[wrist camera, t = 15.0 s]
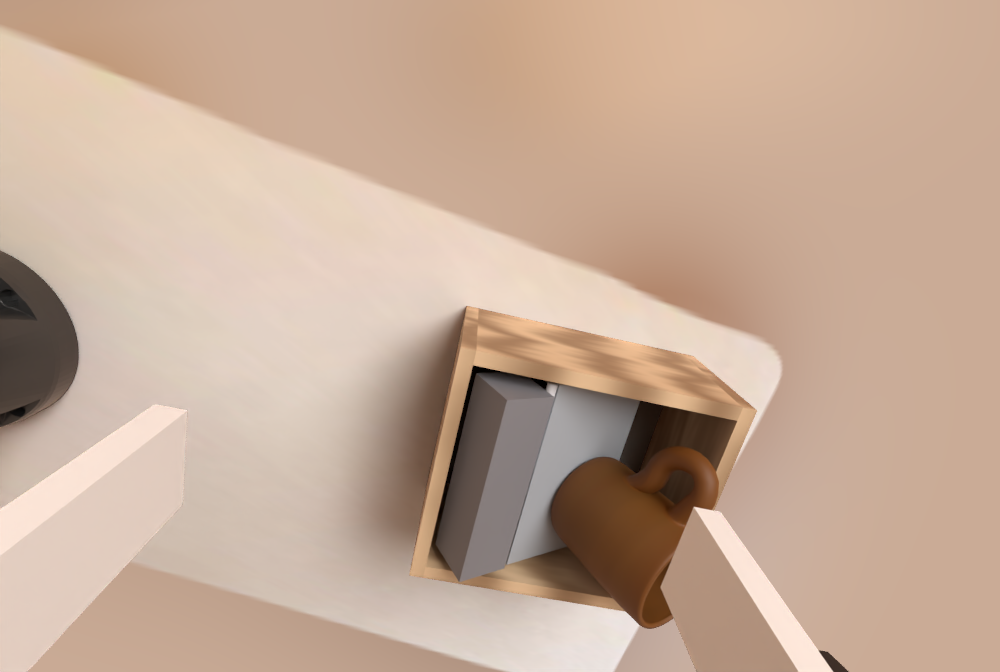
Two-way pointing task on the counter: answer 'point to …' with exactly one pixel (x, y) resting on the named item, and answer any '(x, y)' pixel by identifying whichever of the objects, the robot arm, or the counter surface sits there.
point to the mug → (631, 524)
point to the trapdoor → (521, 466)
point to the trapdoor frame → (594, 366)
